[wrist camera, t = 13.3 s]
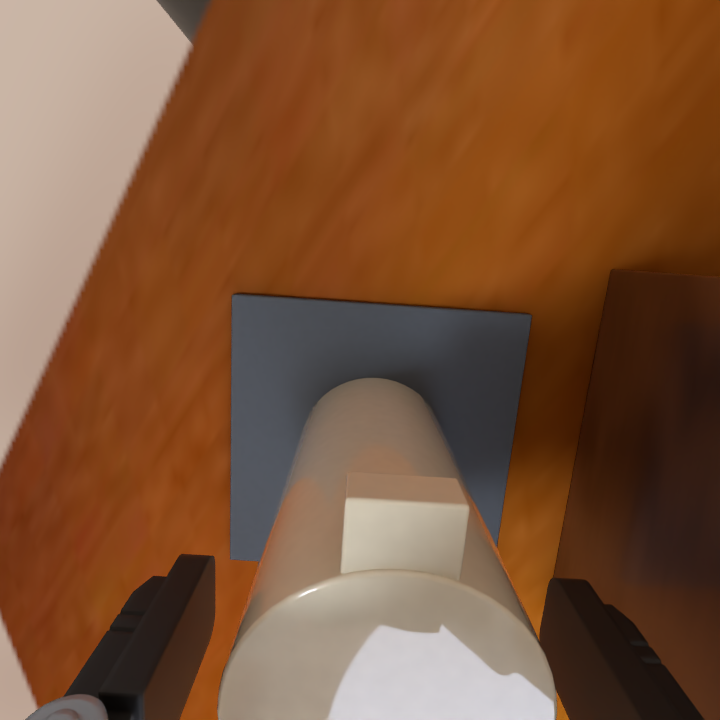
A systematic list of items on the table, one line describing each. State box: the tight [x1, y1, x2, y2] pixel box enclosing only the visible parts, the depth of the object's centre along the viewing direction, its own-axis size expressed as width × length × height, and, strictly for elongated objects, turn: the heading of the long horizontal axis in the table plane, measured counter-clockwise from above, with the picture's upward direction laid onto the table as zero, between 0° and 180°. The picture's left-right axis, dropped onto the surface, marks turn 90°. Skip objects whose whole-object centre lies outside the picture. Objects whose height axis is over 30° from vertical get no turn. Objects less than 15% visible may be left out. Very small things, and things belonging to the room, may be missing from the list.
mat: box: [230, 294, 532, 561], centre depth 20 cm, size 12×12×1 cm
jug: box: [217, 378, 557, 720], centre depth 14 cm, size 10×6×12 cm, turn 176°
